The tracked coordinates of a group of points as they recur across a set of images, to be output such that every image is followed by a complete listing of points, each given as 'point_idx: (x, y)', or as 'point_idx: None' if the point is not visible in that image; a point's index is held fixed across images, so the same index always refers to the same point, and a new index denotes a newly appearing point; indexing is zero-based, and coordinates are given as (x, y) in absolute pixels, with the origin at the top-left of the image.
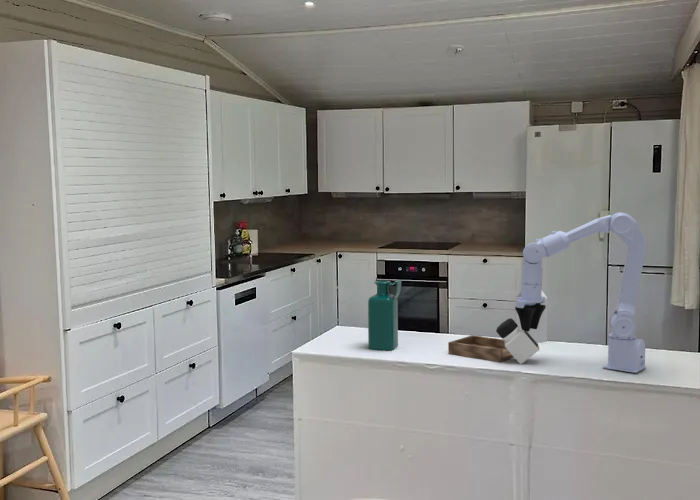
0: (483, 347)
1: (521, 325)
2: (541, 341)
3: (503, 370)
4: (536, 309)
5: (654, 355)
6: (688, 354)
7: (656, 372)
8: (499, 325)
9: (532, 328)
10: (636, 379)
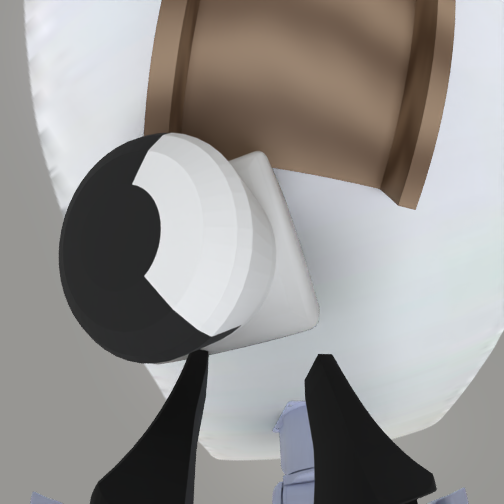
0: (155, 48)
1: (180, 375)
2: None
3: None
4: (327, 500)
5: (418, 412)
6: (426, 426)
7: None
8: (126, 183)
9: (312, 368)
10: (213, 434)
